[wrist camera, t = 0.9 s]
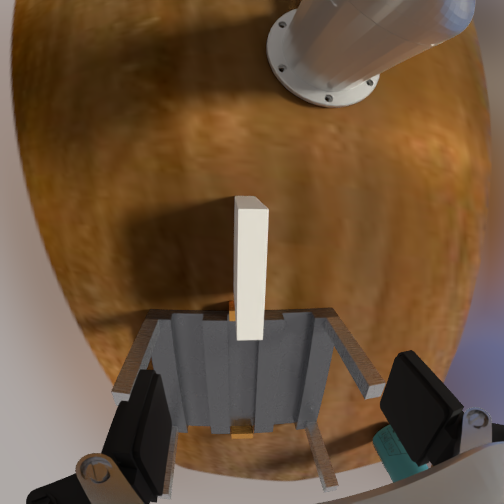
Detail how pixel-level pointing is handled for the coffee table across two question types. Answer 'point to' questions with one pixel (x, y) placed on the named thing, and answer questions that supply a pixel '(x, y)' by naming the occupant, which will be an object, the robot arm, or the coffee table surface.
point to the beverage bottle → (395, 455)
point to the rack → (246, 373)
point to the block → (250, 266)
